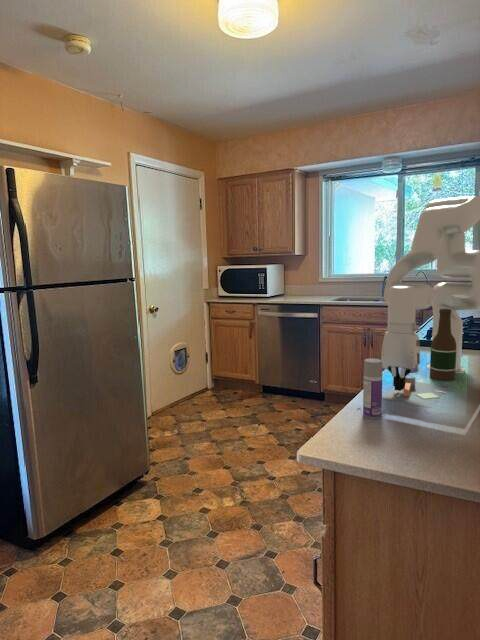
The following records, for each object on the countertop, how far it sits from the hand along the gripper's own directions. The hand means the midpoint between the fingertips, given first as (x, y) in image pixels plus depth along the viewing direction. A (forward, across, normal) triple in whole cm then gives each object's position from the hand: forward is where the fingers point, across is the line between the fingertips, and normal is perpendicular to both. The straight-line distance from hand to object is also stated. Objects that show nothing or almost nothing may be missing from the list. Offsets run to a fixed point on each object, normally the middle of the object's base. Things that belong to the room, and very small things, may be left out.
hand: (399, 389), depth 128 cm
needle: (+1, -2, -3) cm, 4 cm away
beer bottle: (+2, -6, -23) cm, 24 cm away
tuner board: (+2, -4, -3) cm, 5 cm away
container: (+3, 0, +19) cm, 19 cm away
